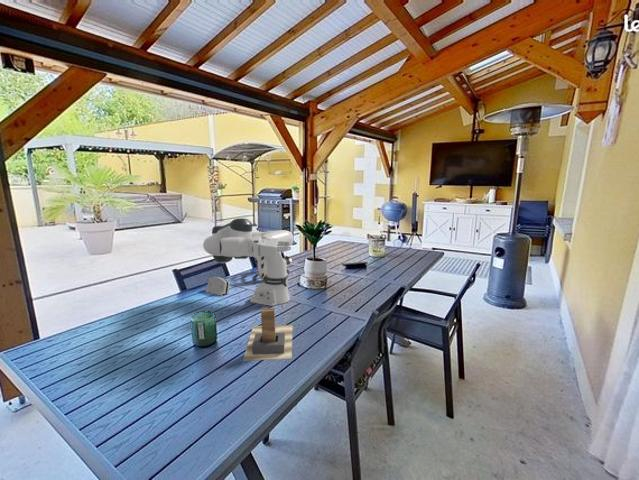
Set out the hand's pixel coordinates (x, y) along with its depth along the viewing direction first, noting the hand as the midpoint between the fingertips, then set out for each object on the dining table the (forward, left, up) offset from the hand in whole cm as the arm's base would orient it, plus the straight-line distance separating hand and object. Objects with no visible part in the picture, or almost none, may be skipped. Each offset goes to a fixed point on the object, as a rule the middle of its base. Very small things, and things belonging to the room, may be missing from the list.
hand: (288, 245), depth 139 cm
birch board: (-3, -16, -38) cm, 42 cm away
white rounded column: (-36, +74, -38) cm, 91 cm away
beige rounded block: (-57, +35, -39) cm, 77 cm away
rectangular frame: (-2, -21, -37) cm, 43 cm away
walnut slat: (-2, -21, -37) cm, 43 cm away
